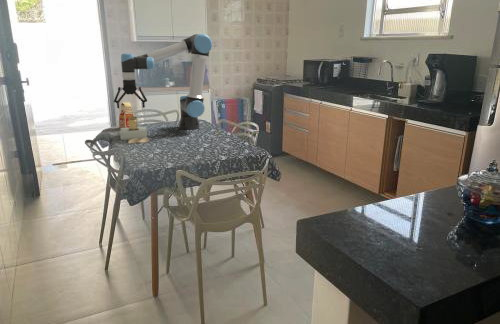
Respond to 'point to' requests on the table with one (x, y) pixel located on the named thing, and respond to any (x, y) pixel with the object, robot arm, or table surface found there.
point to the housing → (133, 133)
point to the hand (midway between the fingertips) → (131, 113)
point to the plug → (133, 123)
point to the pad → (138, 140)
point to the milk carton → (125, 114)
